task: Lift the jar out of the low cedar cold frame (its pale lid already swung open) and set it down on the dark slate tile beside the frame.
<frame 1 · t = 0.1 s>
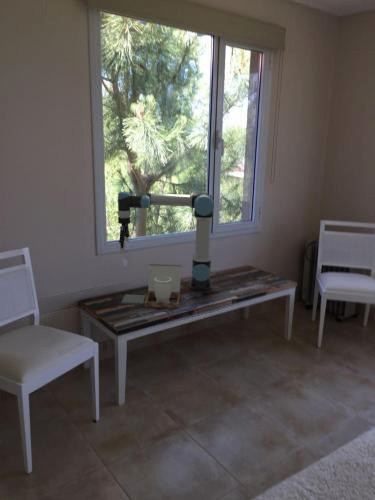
hand: (124, 250, 264), 28 cm above the table, fingers open, 13 cm apart
jar: (162, 302, 255), resting in cold frame
cold frame: (162, 302, 255), on the table
slate tile: (133, 300, 257), on the table
lid: (164, 278, 263), point 12 cm above the table, hinge at 105.0°
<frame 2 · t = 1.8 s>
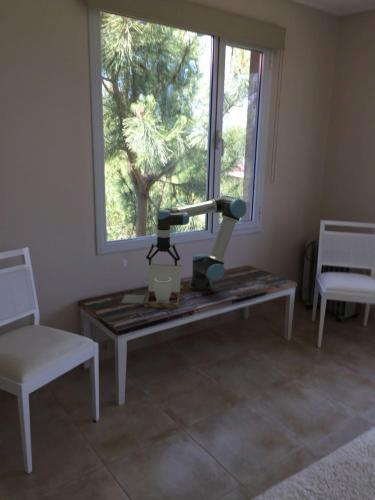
hand: (162, 270, 250), 20 cm above the table, fingers open, 13 cm apart
nothing on the table moved.
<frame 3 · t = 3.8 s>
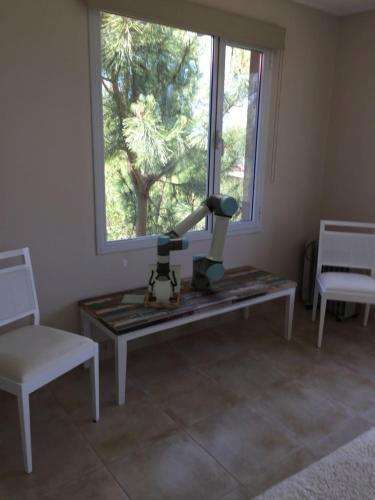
hand: (162, 296, 254), 4 cm above the table, fingers closed on jar, 10 cm apart
jar: (162, 302, 255), resting in cold frame, touching gripper
everything else where it was.
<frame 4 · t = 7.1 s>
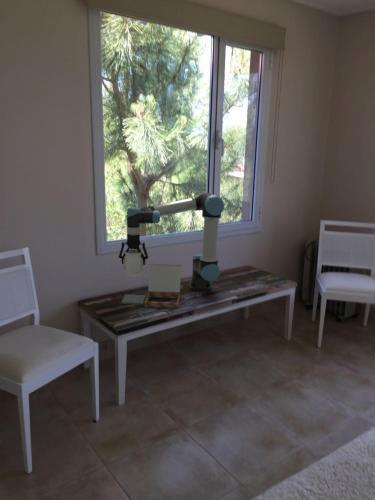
hand: (133, 269, 252), 20 cm above the table, fingers closed on jar, 10 cm apart
jar: (133, 275, 253), point 16 cm above the table, touching gripper
everything else where it was.
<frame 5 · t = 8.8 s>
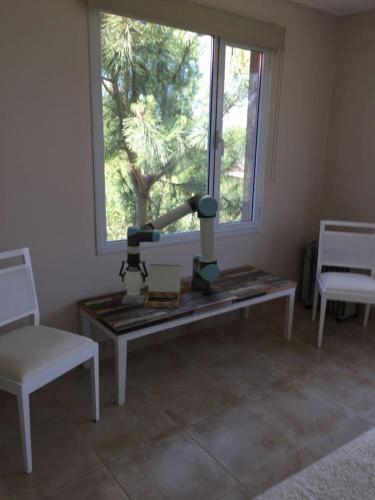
hand: (133, 287, 254), 9 cm above the table, fingers closed on jar, 10 cm apart
jar: (133, 293, 255), point 5 cm above the table, touching gripper
everything else where it was.
when the fingers open (6 cm above the table, at t = 10.5 s): jar stays where it is, resting on slate tile.
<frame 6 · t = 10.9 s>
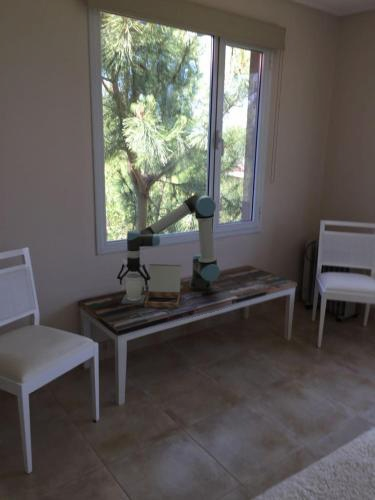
hand: (133, 290, 255), 7 cm above the table, fingers open, 13 cm apart
jar: (134, 299, 256), point 1 cm above the table, touching slate tile
everything else where it was.
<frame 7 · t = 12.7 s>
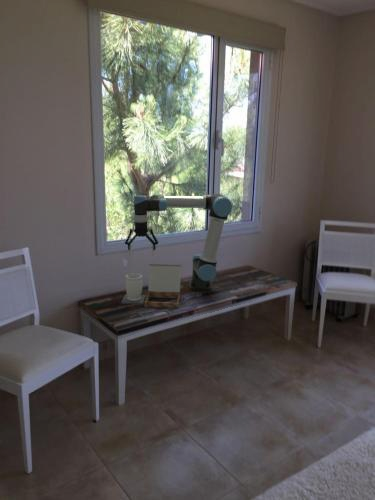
hand: (142, 255, 256), 27 cm above the table, fingers open, 13 cm apart
nothing on the table moved.
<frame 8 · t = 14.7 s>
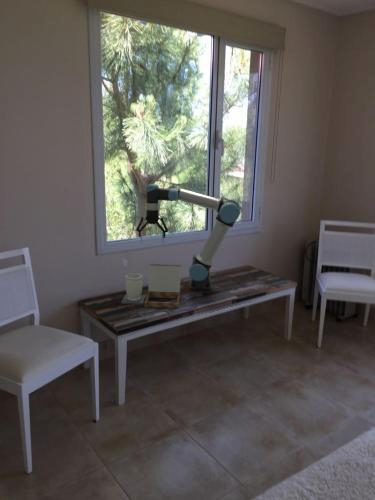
hand: (152, 242, 265), 33 cm above the table, fingers open, 13 cm apart
nothing on the table moved.
at the end: jar inside the target area on the slate tile (0.2 cm from its centre), point 0.5 cm above the slate tile's base; jar tilted 0°; the gripper is holding nothing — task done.
